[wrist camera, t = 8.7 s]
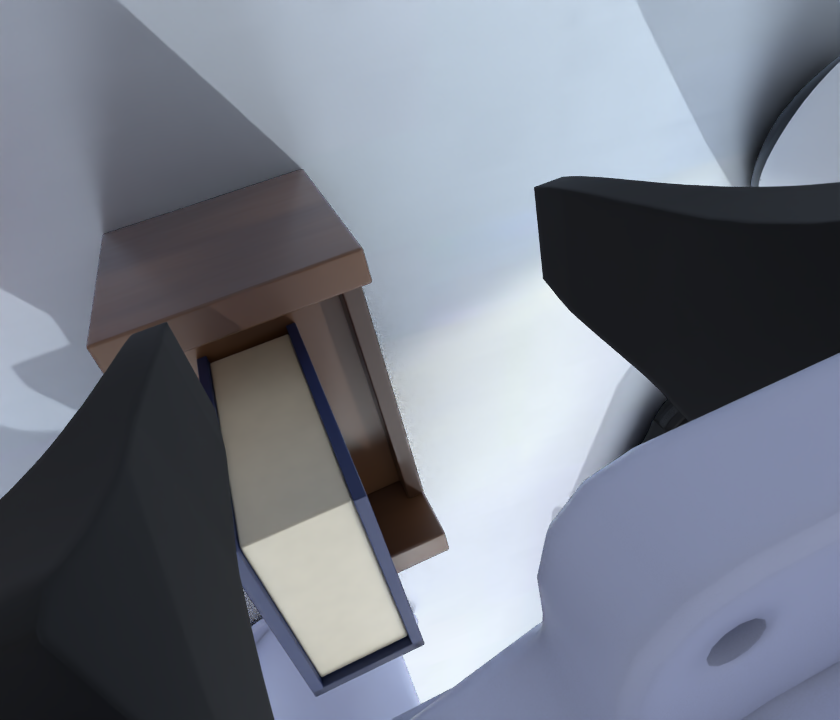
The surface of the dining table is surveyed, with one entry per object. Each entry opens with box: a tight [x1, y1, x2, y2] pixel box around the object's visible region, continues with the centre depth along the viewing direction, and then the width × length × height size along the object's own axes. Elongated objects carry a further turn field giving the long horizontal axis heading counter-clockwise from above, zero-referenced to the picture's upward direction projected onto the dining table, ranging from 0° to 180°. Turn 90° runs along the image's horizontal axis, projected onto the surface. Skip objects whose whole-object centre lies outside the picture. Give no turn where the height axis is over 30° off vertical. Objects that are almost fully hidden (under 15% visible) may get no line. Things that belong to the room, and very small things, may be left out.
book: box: [197, 323, 424, 697], centre depth 17 cm, size 3×6×8 cm, turn 13°
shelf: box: [87, 169, 449, 573], centre depth 20 cm, size 6×12×7 cm, turn 13°
